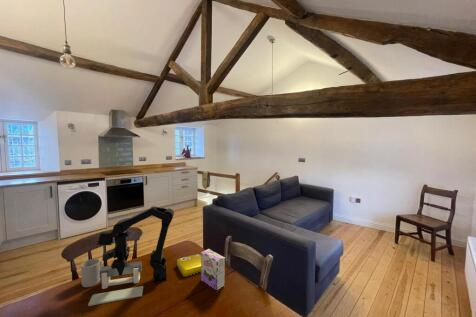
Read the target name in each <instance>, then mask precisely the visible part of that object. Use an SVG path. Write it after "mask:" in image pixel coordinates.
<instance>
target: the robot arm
mask: <svg viewBox="0 0 476 317" xmlns="http://www.w3.org/2000/svg"><path fill="white" fill-rule="evenodd" d="M174 215H175V211H174V210H173V209H172V208H164V207H158V206H156V205H155V206H151V207H150V208H147V209H146V210H144V211H141V212H139V213H138V214H135V215H133V216H131V217H127V218H123V219H120V220H118V221H117V222H116V223H115V224H114V225H113V227H112V231H110V232H108V231H106V232H105V231H102V232H100V233H99V236H98V240H97V244H98V246H100V247H102V246H104V247H105V246H112V245H113V244H114V247H113V248H111V249H108V250H107V251H104V252H103V254H102V260H104V261H105V262H107V261H109V260H110V259H112V258H113V261H112V262H111V265H110V266H111V269H115V268H117V271H118V273H119V275H118V276H123V275H122V273H123V270H124V268H125V265H126V263H127V261H128V259H129V255H130V252H131V247H130V246H128V237H129V238H130V236H131V234H132V233H131V232H130V231H128V229H130V228H131V227H132V226H134V225H135V224H138V223H139V222H142V221H144V220H146V219H147V218H149V217H155V218H157V219H158V220H159V219H160V220H161V228H160V232H159V235H158V239H157V244H156V247H155V249H152V252H151V254H150V258H149V261H148V263H149V266H150V267H151V268H152V269H153V272H152V274H153V276H152V280H153V283H161V282H165V281H167V279H168V278H167V276H168V275H167V274H168V273H167V261H168V260H167V259H166V258H165V257H164V246H165V242H166V239H167V235H168V230H169V227H170V225H171V222H172V221H173V218H174Z"/></svg>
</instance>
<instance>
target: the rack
mask: <svg viewBox="0 0 476 317" xmlns="http://www.w3.org/2000/svg"><path fill="white" fill-rule="evenodd" d="M132 274H133V276H130V277H123V278H116V279H111V277H107V272H106V273H102V278H101V289H102V290H104V289H108V287H112V286H118V285H123V284H124V285H125V284H129V283H133V284H139V283H140V279H141V272H139V271H138V268H134V269H133V273H132Z"/></svg>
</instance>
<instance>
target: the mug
mask: <svg viewBox="0 0 476 317" xmlns="http://www.w3.org/2000/svg"><path fill="white" fill-rule="evenodd" d="M101 267H103V262H102V260H101V259H98V258H91V259H88V260H85V261H83V262H82V263H81V264H80V268H81V269H80V273H81V274H80V275H81V276H80V277H81V286H82V287H83V288H90V287H93V286H96V285H97V284H99V283H100V281H101V278H100V272H99V271H100V269H101Z"/></svg>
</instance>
